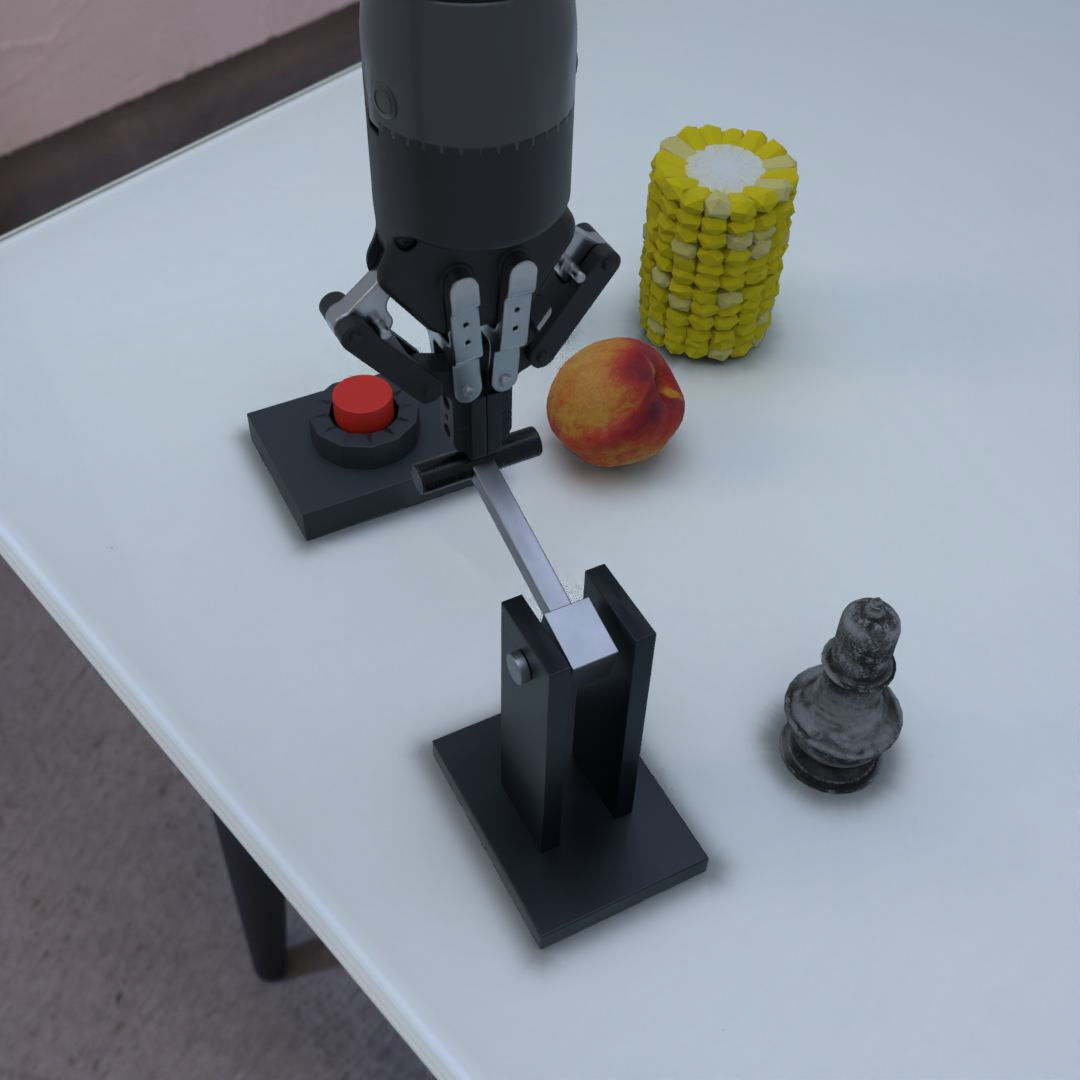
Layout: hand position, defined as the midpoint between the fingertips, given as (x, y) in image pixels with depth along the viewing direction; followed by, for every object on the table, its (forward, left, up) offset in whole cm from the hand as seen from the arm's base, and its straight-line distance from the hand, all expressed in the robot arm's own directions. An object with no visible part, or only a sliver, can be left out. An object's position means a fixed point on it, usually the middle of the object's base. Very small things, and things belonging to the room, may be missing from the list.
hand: (476, 444), depth 59 cm
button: (+1, +18, -13) cm, 22 cm away
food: (+27, +20, -17) cm, 38 cm away
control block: (+1, +18, -16) cm, 25 cm away
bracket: (0, -10, -16) cm, 19 cm away
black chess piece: (+14, -13, -17) cm, 25 cm away
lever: (0, -5, -3) cm, 6 cm away
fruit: (+15, +12, -17) cm, 25 cm away
